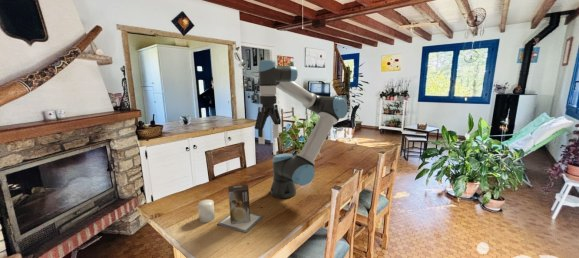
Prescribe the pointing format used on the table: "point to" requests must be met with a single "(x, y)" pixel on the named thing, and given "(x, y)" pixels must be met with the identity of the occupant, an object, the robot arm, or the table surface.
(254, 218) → the mat
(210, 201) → the cream capsule pill
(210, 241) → the table surface
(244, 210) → the coffee box
